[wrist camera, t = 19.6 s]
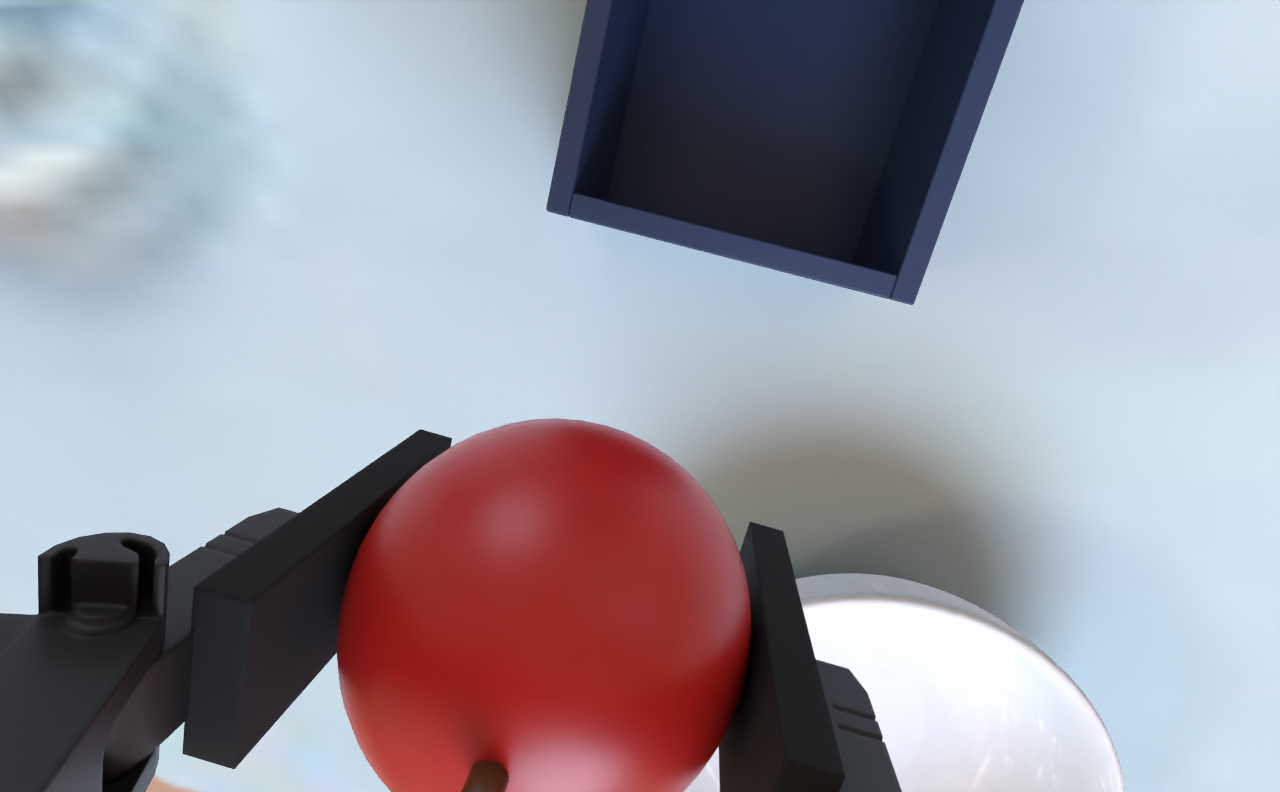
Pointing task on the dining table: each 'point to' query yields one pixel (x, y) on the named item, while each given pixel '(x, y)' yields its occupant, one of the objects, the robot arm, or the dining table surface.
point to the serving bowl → (954, 691)
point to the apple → (545, 619)
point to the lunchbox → (781, 128)
